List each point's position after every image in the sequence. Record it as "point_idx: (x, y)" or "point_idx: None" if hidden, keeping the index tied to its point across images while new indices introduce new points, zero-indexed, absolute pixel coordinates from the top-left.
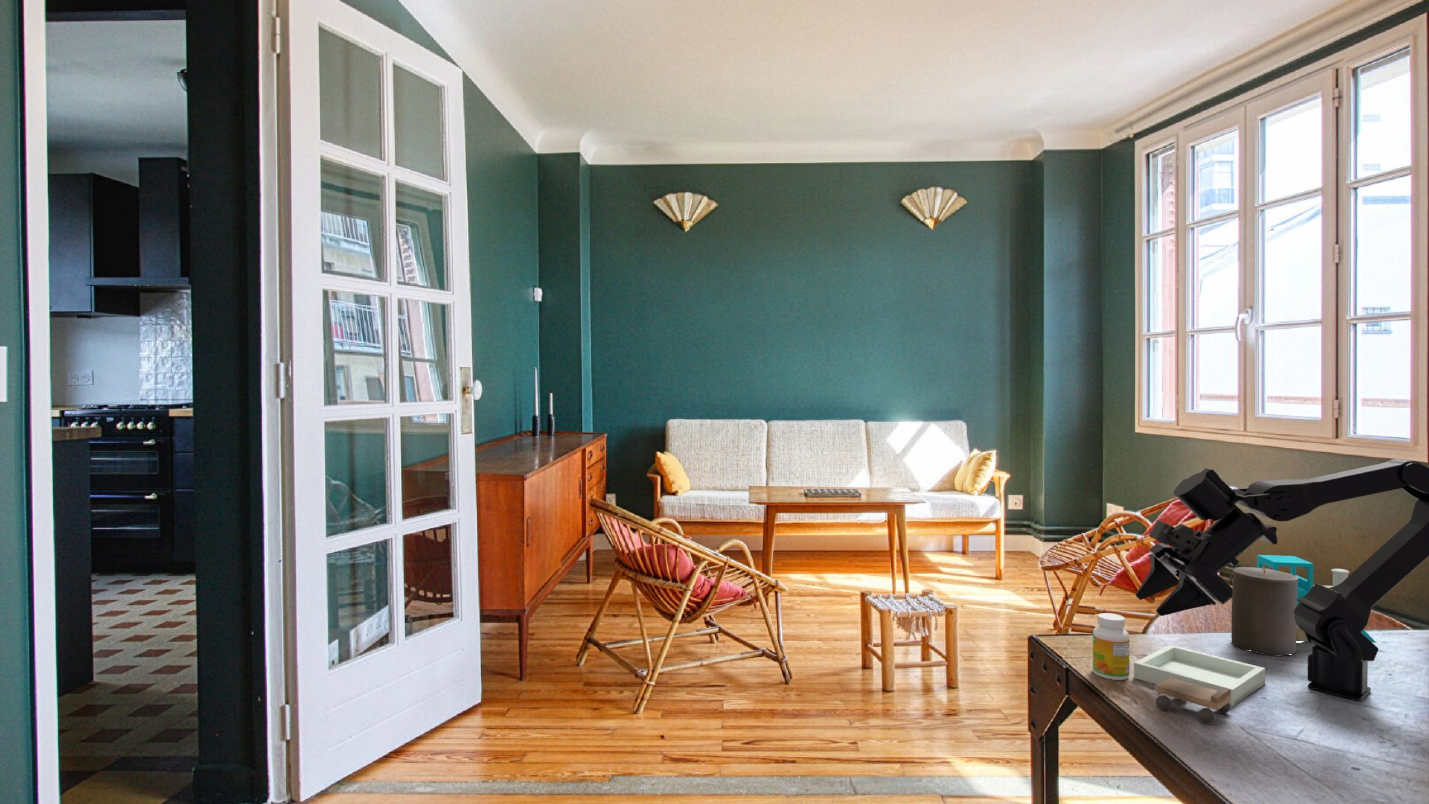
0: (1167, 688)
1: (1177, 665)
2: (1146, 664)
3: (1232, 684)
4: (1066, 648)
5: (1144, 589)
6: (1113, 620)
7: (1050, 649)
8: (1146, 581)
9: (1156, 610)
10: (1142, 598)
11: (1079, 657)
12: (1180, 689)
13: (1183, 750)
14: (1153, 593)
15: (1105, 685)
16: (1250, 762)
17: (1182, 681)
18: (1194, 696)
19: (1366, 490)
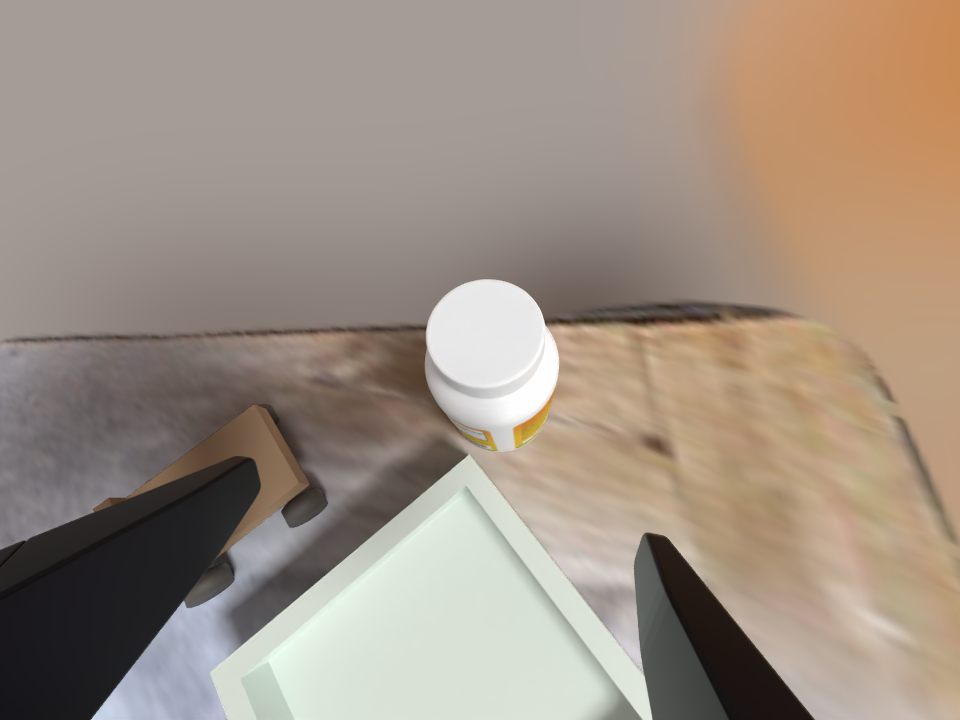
0: (230, 425)
1: (568, 686)
2: (451, 488)
3: (246, 712)
4: (728, 367)
5: (664, 622)
6: (430, 318)
7: (705, 317)
8: (718, 690)
9: (242, 457)
10: (638, 584)
11: (642, 374)
12: (215, 459)
13: (105, 362)
14: (655, 714)
15: (423, 356)
16: (21, 464)
17: (265, 505)
18: (166, 471)
19: None
